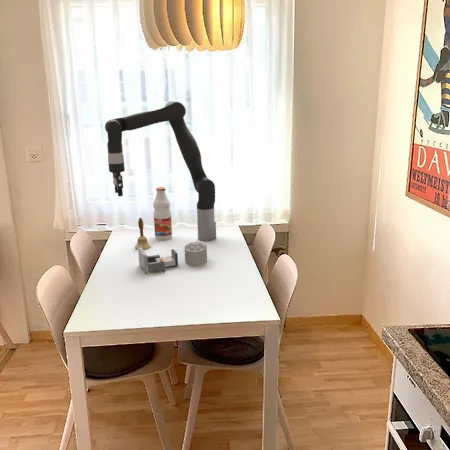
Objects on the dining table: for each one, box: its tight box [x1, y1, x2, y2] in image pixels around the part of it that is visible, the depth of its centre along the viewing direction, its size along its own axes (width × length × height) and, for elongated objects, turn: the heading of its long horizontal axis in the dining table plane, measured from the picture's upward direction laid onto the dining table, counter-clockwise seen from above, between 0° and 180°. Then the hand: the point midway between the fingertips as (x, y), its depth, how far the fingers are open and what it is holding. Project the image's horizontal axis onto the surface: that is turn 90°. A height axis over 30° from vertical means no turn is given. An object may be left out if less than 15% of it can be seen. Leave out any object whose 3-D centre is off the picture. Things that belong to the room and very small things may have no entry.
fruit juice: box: [152, 186, 173, 241], centre depth 268 cm, size 9×9×28 cm
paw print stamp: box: [184, 241, 208, 268], centre depth 235 cm, size 10×13×9 cm
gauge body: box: [137, 247, 166, 275], centre depth 227 cm, size 10×14×9 cm
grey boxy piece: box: [155, 249, 179, 268], centre depth 228 cm, size 9×11×6 cm
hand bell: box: [134, 217, 152, 251], centre depth 255 cm, size 8×8×16 cm
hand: (118, 194), depth 245 cm, fingers open, 8 cm apart
